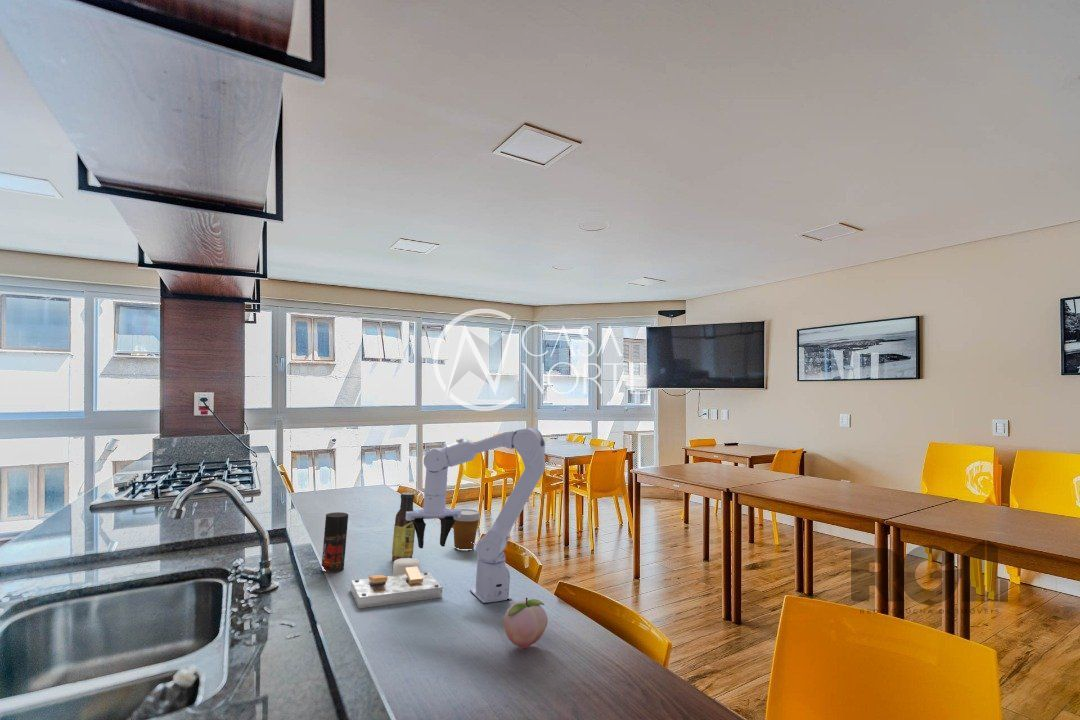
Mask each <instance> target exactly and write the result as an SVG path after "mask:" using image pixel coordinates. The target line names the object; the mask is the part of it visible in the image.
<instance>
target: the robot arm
mask: <svg viewBox="0 0 1080 720" xmlns="http://www.w3.org/2000/svg"><path fill="white" fill-rule="evenodd" d="M501 447H505V448H507V449H515V450H516V452H517V453H518V455H520V457H521V459H522V462H523V466H524V470H522V471H523V472H522V474H521V475H520V477H519V478H518V480H517V482H516V484H515V485H514V487H513V489H512V491H511V493H510V494H509V497H508V498H507V500H506V501H505V503H504V505H503V506H502V508H501V510H500V512H499V514H498V516H497V517H496V519H495V521H494V522H493V523H492V525H491V527H490V528H489V529H488V530H487V532H486V534H485V535H484V536H482V537H481V538H480V539H479V540H478V541H477V543H476V546H475V547H476V548H475V550H476V551H475V552H476V554H477V561H476V575H475V576H476V578H475V587H470V588H469V591H470V592H471V593H472V594H473V595H474V596H475V597H476V598H477V599H478V600H479V601H480V602H481V604H487V603H495V602H502V601H508V600H507V599H509V600H512V599H511V598H513V597H512V595H510V584H511V583H510V580H511V574H510V570H509V568H508V567H507V566H506V554H505V552H504V550H505V549H506V548H507V546H508V542H509V541H508V539H509V535H510V534H511V532H512V529H513V527H514V525H515V523H516V521H517V520H518V518H519V516H520V515H521V513H522V511H523V509H524V507H525V506H526V504H527V502H528V500H529V499H530V497H531V495H532V493H533V491H535V488H536V486H537V484H538V483H539V481H540V480H541V477H542V476H543V474H544V472H545V471H546V453H545V452H546V450H545V449H546V442H545V439H544V437H543V434H542V432H541V431H540V430H539V429H537V428H535V427H533V426H532V427H526V428H523V429H522V428H521V429H515V430H513V429H512V430H508V431H503V432H501V433H498V434H493V435H492V436H489V437H485V438H483V439H479V440H477V441H474V442H473V441H472V440H470V439H468V438H467V439H466V438H465V439H464V438H459V439H457V442H454V443H451V444H448V445H446V444H442V445H441V446H440V448H432V449H431V450H429V451H427V452H426V453H425V455H424V457H423V465H424V467H425V468H426V470H425V482H424V493H423V494H424V495H423V509H418V510H414V511H409V512H406V518H405V519H406V520H407V521H411V520H412V522H413V525H414V527H415V533H416V534H415V535H416V538H417V545H418V546H417V547H418V548H419V549H424V542H425V541H424V540H425V539H424V538H425V531H426V526H427V523H426V522H425V520H429V519H430V520H432V519H434V520H435V519H440V535H439V545H440V546H441V547H446V543H447V539H448V536H449V533H450V532H451V530H452V528H453V525H454V523H455V519H453V518H454V517H457V518H461V510H459V509H460V508H446V502H447V501H446V500H447V487H448V469H449V467H450V468H451V467H455V466H458V465H462V464H465V463H467V462H470V461H471V462H472V461H474V459H475V458H476V456H477V454H480V453H483V452H487V451H490V450H495V449H498V448H501Z"/></svg>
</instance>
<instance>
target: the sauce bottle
mask: <svg viewBox="0 0 1080 720" xmlns="http://www.w3.org/2000/svg"><path fill="white" fill-rule="evenodd" d="M414 499H415V493H414V492H401V493H400V506H399V507H400V508H399V509H398V511H397V513H396V515H395V519H394V521H395V522H394V525H393V526H394V527H393V537H392V547H391V555H392V556H391V560H392V562H394V561H395V560H397V559H401V558H413V555H414V547H415V535H416V534H415V533H416V530H415V527H414V525H413V522H412V520H411V521H407V520H406V519H405V518H406V512H409V511H415V510H414Z"/></svg>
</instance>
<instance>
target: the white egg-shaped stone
mask: <svg viewBox="0 0 1080 720" xmlns="http://www.w3.org/2000/svg"><path fill="white" fill-rule="evenodd" d="M420 562H421V561H420V560H419V559H417V558H414V557H412V558H401V559H397V560H395V561H393V566H392V567H393V568H392V576H396V575H405V574H406V573H405V568H406V567H416V566H417V567H418V569H419V570H420Z"/></svg>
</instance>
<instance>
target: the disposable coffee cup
mask: <svg viewBox="0 0 1080 720" xmlns="http://www.w3.org/2000/svg"><path fill="white" fill-rule="evenodd" d="M458 509H459V510H461V518H457V517H454V518H453V519H455V523H454V525H453V526H452V528H453V546H455V547H456V548H459V549H473V548H474V547H475V543H476V542H475V541H476V538H477V532H478V528H479V527H478V525H479V520H480V518H481V514H480V511H479V510H476V509H472V508H471V509H469V508H458ZM471 542H472V543H471ZM473 543H474V544H473ZM473 550H474V549H473Z"/></svg>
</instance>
